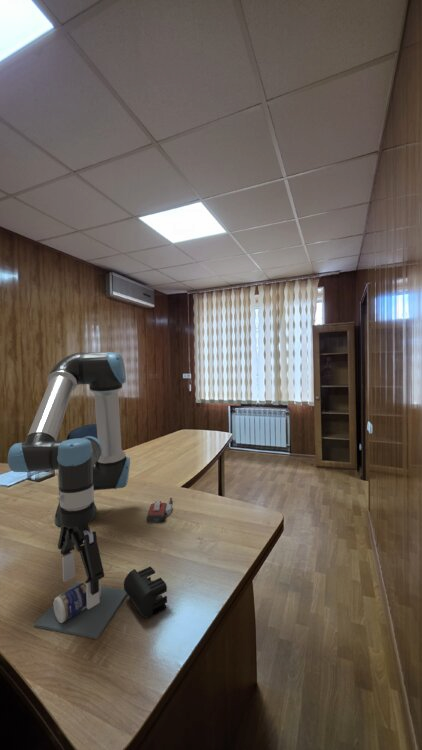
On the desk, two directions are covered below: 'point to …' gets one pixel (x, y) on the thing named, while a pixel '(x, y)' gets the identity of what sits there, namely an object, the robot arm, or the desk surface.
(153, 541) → the desk surface
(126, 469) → the robot arm
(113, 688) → the desk surface
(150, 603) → the end cap
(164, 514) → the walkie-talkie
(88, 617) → the mat
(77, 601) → the pill bottle
